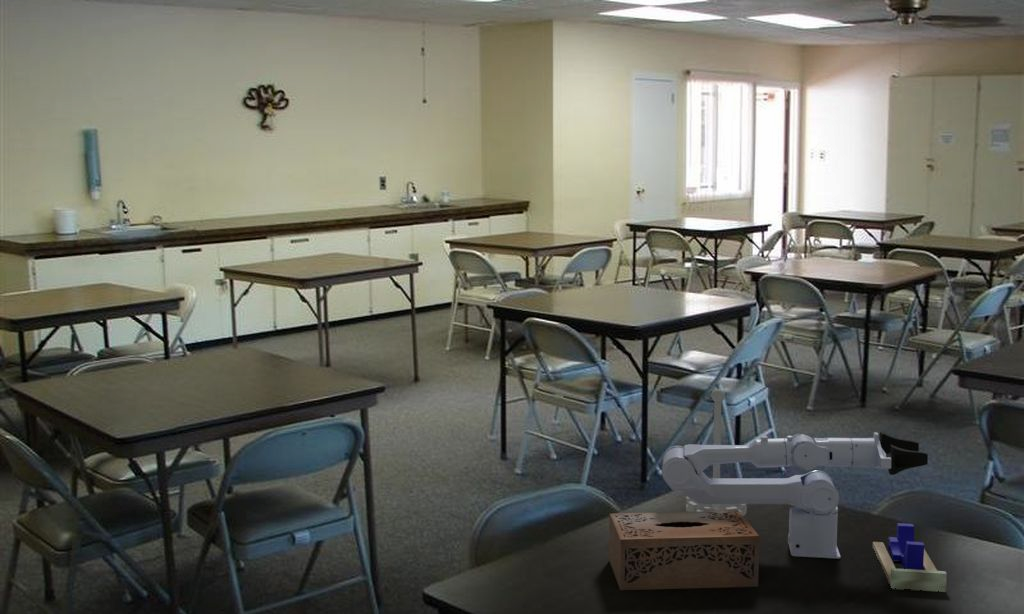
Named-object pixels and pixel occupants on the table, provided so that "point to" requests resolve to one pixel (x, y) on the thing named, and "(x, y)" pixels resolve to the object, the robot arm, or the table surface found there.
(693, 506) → the flag stand
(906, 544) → the blue stepped block
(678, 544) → the tissue box cover
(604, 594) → the table surface
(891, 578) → the channel
